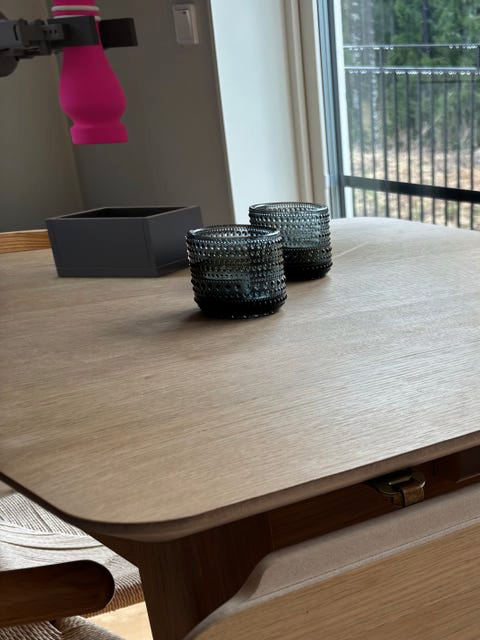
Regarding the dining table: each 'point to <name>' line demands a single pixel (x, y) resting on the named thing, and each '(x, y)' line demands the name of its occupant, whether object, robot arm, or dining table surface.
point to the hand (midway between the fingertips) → (114, 31)
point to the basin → (122, 241)
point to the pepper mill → (90, 85)
